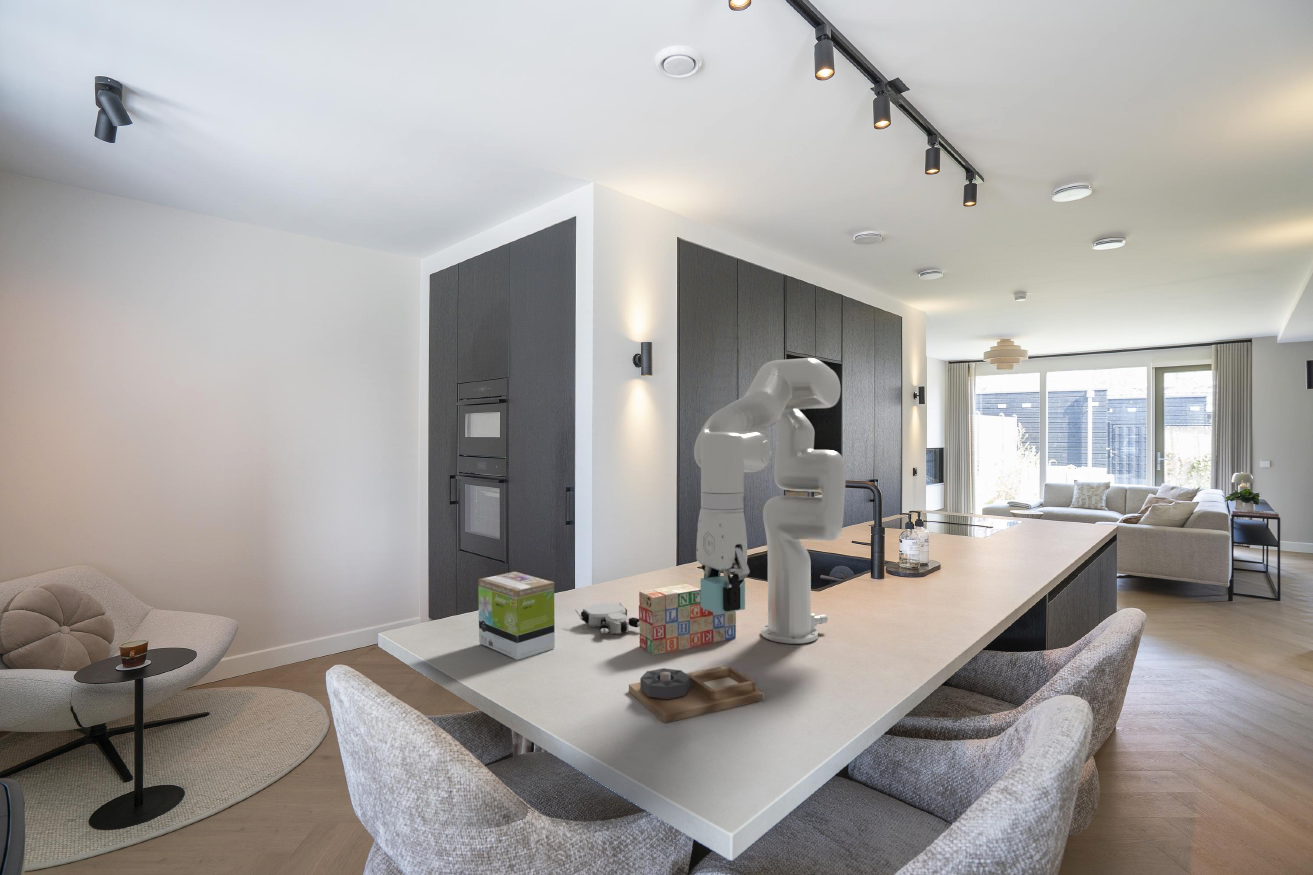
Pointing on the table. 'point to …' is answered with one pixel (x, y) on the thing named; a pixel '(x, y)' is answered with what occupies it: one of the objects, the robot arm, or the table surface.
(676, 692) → the wheel
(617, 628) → the robot toy
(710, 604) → the teal nearly cubic block
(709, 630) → the stack of blocks
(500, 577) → the tea box
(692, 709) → the chassis
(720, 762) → the table surface
